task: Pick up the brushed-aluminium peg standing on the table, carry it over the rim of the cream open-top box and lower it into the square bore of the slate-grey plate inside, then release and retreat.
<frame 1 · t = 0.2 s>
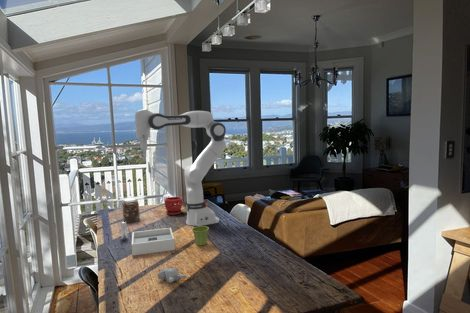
hand: (144, 156, 227), 47 cm above the table, fingers open, 8 cm apart
box: (153, 245, 197), on the table
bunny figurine: (171, 281, 153), on the table
plant pot: (201, 244, 197), on the table
peg: (124, 238, 213), on the table
plant pot 2: (174, 213, 267), on the table
jar: (131, 220, 255), on the table
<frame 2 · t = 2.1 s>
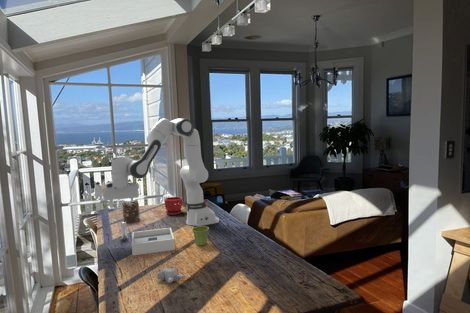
hand: (122, 206, 211), 20 cm above the table, fingers open, 8 cm apart
nothing on the table moved.
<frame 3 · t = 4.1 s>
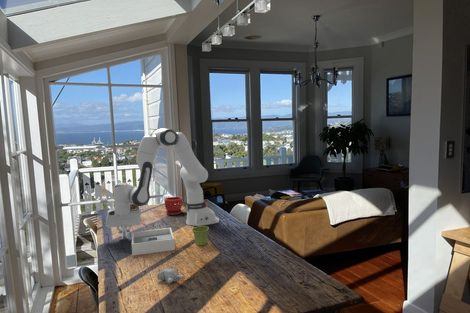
hand: (124, 232, 212), 4 cm above the table, fingers closed on peg, 3 cm apart
peg: (124, 238, 213), on the table, touching gripper
everything else where it was.
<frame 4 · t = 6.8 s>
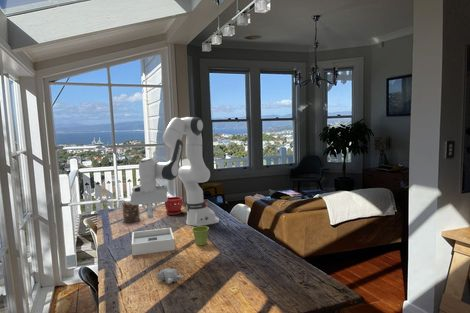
hand: (150, 211, 199), 19 cm above the table, fingers closed on peg, 3 cm apart
peg: (150, 217, 199), point 15 cm above the table, touching gripper
everything else where it was.
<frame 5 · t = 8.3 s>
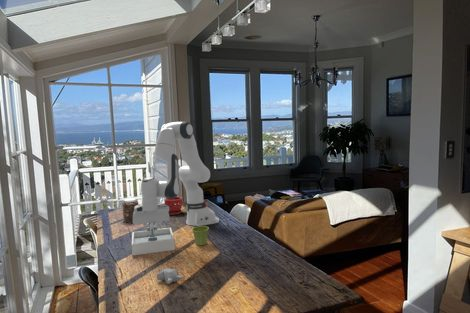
hand: (152, 230, 199), 8 cm above the table, fingers closed on peg, 3 cm apart
peg: (152, 236, 200), point 4 cm above the table, touching gripper
everything else where it was.
when the fingers open (5 cm above the table, at t = 9.3 s): peg stays where it is, resting in box.
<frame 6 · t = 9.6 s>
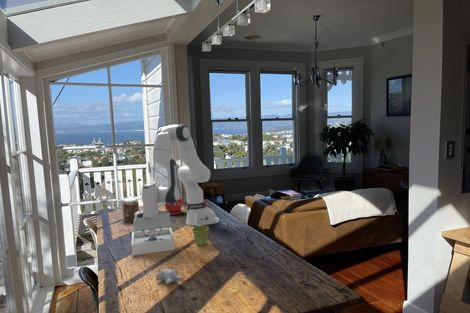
hand: (152, 236, 200), 5 cm above the table, fingers open, 6 cm apart
peg: (153, 244, 200), resting in box
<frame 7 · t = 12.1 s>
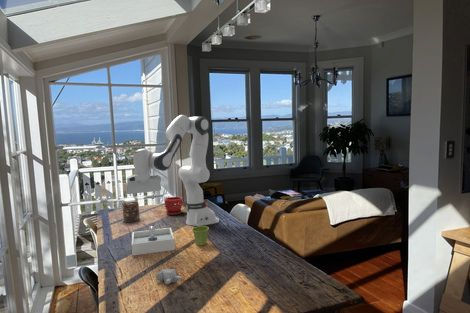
hand: (144, 199, 208), 24 cm above the table, fingers open, 8 cm apart
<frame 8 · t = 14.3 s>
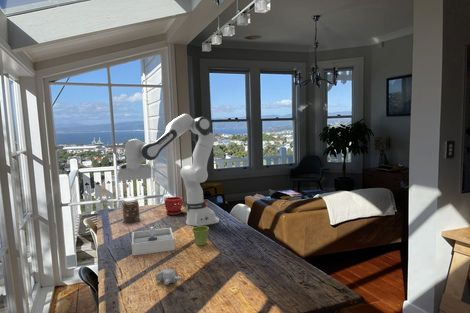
hand: (135, 186, 222), 29 cm above the table, fingers open, 8 cm apart
at the end: peg 0.0 cm from the target spot on the box, point 0.0 cm above the box's base; peg tilted 0°; the gripper is holding nothing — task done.
